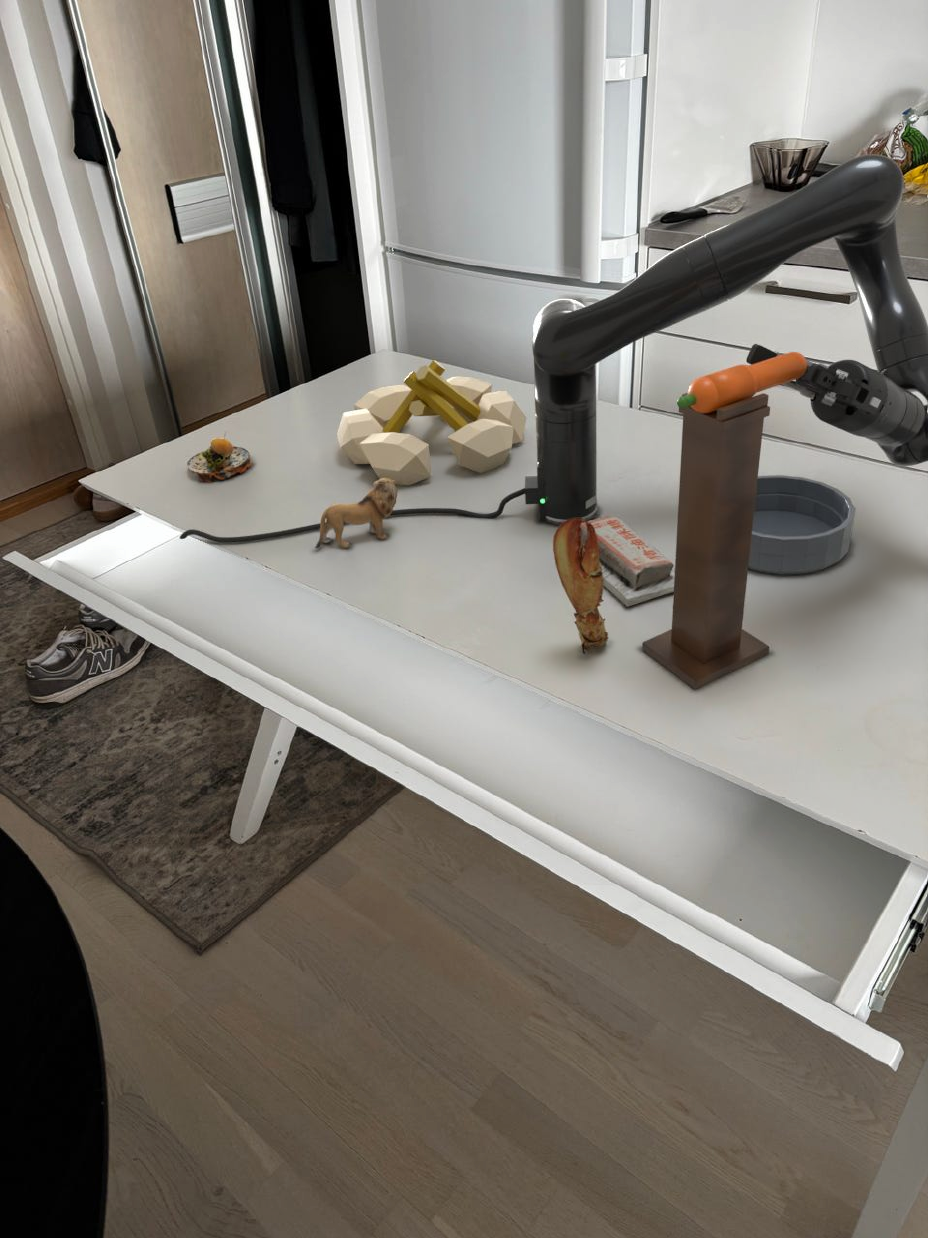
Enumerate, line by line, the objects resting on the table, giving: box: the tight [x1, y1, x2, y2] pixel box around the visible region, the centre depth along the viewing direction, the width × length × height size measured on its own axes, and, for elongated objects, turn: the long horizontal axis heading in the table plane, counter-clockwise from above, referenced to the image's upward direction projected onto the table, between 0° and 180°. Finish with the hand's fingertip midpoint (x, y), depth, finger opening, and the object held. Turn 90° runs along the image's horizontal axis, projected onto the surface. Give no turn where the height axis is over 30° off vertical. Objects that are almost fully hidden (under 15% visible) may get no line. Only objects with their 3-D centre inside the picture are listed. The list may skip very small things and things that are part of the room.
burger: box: [187, 430, 253, 483], centre depth 176 cm, size 12×12×8 cm
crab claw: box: [552, 517, 609, 655], centre depth 117 cm, size 7×5×20 cm
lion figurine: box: [314, 478, 398, 549], centre depth 149 cm, size 15×5×9 cm, turn 116°
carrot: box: [676, 351, 807, 413], centre depth 101 cm, size 18×4×4 cm, turn 120°
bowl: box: [748, 474, 856, 575], centre depth 139 cm, size 20×20×6 cm
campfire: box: [336, 359, 527, 487], centre depth 174 cm, size 35×34×17 cm
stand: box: [641, 392, 771, 690], centre depth 110 cm, size 12×10×34 cm
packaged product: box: [580, 515, 675, 608], centre depth 136 cm, size 18×5×10 cm
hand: (780, 362), depth 103 cm, fingers open, 8 cm apart
